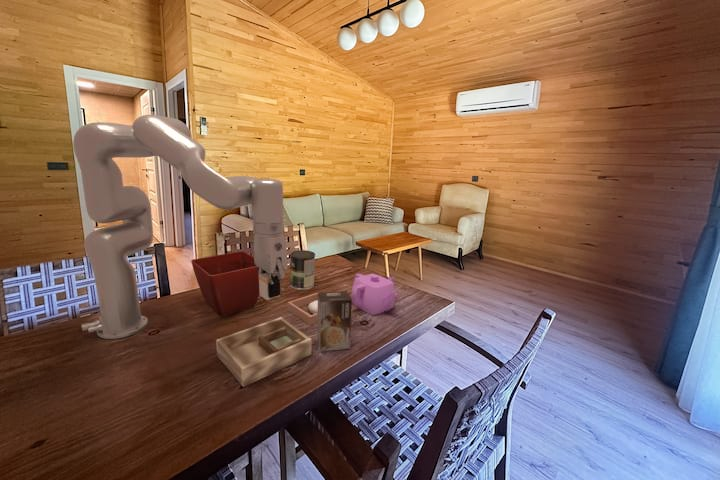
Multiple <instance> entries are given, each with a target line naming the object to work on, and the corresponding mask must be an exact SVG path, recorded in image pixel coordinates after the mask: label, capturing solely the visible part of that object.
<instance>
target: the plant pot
mask: <svg viewBox="0 0 720 480" xmlns="http://www.w3.org/2000/svg"><path fill="white" fill-rule="evenodd" d="M191 265H192V268H193V273H194V275H195V279H196V281H197V284H198V287H199V290H200V293H201V294H202V296H203V298H204V302H206V304H207V306H208V307H209V308H210V309H211V310H212V311H214V313H215V314H216V315H218V317H224V316H229V315H233V314H234V313H238V312H239V313H240V312H242V311H244V310H248V309H253V308H254V307H256V304H257V302H258V299H259V296H260V293H259V270H258V269H257V268H258V267H257V266H256V264H255V262H254V255H251V254H250V253H248V252H246V251H244V250H241V251H234V252H229V253H221V254H216V255H211V256H205V257H200V258H199V257H198V258H193V259H192V260H191Z"/></svg>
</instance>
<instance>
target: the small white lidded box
mask: <svg viewBox="0 0 720 480" xmlns="http://www.w3.org/2000/svg"><path fill="white" fill-rule="evenodd" d="M274 276H276V274H273V278H274ZM269 283H270V282H269V273H268V272H267V273H263V274H259V293H260V294H259V296H260V297H262V298H263V299H264V300H266V301H269V300H272V299H275V298H279V297H281V294H280V295H279V296H276V297H273V298H269V296H268V284H269Z"/></svg>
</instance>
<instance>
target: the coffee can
mask: <svg viewBox="0 0 720 480" xmlns="http://www.w3.org/2000/svg"><path fill="white" fill-rule="evenodd" d="M289 256H290V257H289V258H290V265H289V268H290V271H289V272H290V273H289V274H290V275H289V276H290V277H289V278H290V279H289V280H290V281H289V283H290V284H289V286H290V287H291V288H292V289H295V290H299V291H305V290H309V289H310V290H311V289H312V288H314V286H315V262H316V261H315V259H316V258H315V257H316V253H315V252H313V251H311V250H304V249H303V250H302V249H300V250H295V251H292V252H290V253H289Z"/></svg>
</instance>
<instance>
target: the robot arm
mask: <svg viewBox="0 0 720 480" xmlns="http://www.w3.org/2000/svg"><path fill="white" fill-rule="evenodd" d="M73 136H74V137H73V142H72V144H73V150H74V151H73V152H74V154H75V158H76V160H77V163H78V167H79V168H80V169H79V170H80V173H81V181H82V187H83V195H84V201H85V207H86V212H87V215H88V216H89V218H90V220H92V221H93V222H95V223H98V224H110V223H111V224H112V223H115V222H121V221H122V223H120V224H114V225H110V226H106V227H105V226H104V227H101V228H98V229H95V230H93V231H91V232H90V233H88V234H87V236H86V237H85V239H84V243H83V247H84V252H85V254H86V256H87V258H88V261H89V263H90V265H91V268H92V272H93V278H94V283H95V288H96V294H97V301H98V306H99V307H98V308H99V313H100V315H99V316H98V319H96V320H94V321H92V322H87V323H86V322H85V323H82V324H80V326H81V329H82V332H84V331H87V332H88V333H93V332H96V334H97V336H98V337H99V338H102V339H105V340H114V339H115V340H117V339H123V338H127V337H131V336H132V335H135V334H138V333H140V332H141V331H143V330H145V328H146V327H147V326H148V324H149V320H148V317H146V316H145V315H142V313H141V305H140V299H139V290H138V282H137V275H136V274H137V273H136V271H135V268H134V266H133V265H132V264H131V263H130V261H128V259H127V257H129V256H132V255H134V254H137V253H140V252H142V251H146V250H147V249H148V248H149V247H150V246H151V245H152V243H153V240H154V239H153V238H154V229H153V228H154V227H153V219H152V215H153V214H152V207H151V201H150V199H149V197H148V195H147V194H146V193H145V191H144V190H142V189H141V188H140V187H138V186H134V185H124V182H123V174H122V172H121V169H120V167H119V166H118V164H117V163H116V161H115V160H114V159H115V158H125V159H126V158H132V159H133V158H134V159H135V158H138V159H140V158H151V157H155V156H157V157H158V158H160V159H161V160H163V161H164V162H166V163H167V164H168V165H170V166H171V167H173V168H174V169H176V170H177V171H179V172H180V173H181V176H182V179H183V180H184V182H185V184H186V185H187V187H188V188H189V189H190V191H192V192H193V193H194V194H196V195H197V196H198V197H199V198H201V199H203V200H204V201H205V202H207V203H209V204H210V205H212V206H213V207H216V208H218V209H221V210H226V211H228V210H233V209H237V208H240V207H246V206H250V205H251V208H252V209H251V212H252V213H251V214H252V233H253V236H254V237H253V257H254V262H255V264H256V266H257V267H258V268H257V269H258V270H259V274H263V273H267V272H268V273H269V282H270V283H269V284H268V296H269V298H272V299H274V298H273V297H276V296H279V295H280V296H281V282H282V280H283V279H284V278H286V274H285V271H287V269H288V255H287V254H288V253H287V246H286V245H287V243H286V238H285V234H284V187H283V183H282V182H281V180H279V179H276V178H257V177H252V176H248V175H237V176H227V177H225V176H224V175H222V174H220V173H219V172H218V171H216V170H214V169H213V168H212V167H210V166H209V165H207V163H205V159H206V149H205V147H204V146H203V145H202V144H201V143H200V142H197V141H196V139H193V138H192V132H191V131H190V129H189V127H188V125H186V123H184V122H183V121H181V120H180V119H177V118H174V117H168V116H162V115H159V114H158V115H157V114H144V115H141V116H139V117H137V118H136V119H135V120H134V121H133V122H132V125H131V124H122V123H115V122H100V121H99V122H90V123H85V124H84V125H82V126H80V127H79V128H78V129H77V131H76V132H75V134H74V135H73ZM273 274H276V276H274V278H273ZM280 296H279V297H280ZM276 298H277V297H276Z"/></svg>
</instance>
